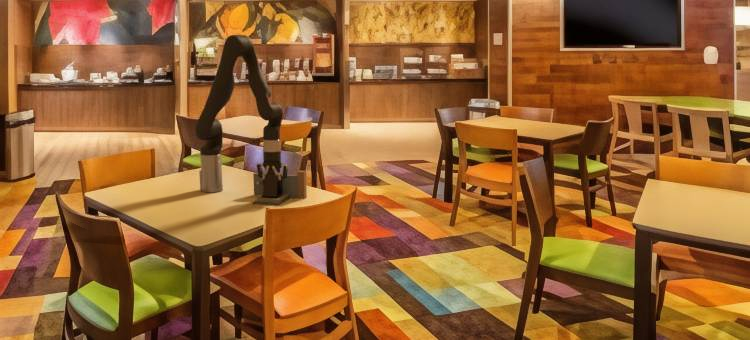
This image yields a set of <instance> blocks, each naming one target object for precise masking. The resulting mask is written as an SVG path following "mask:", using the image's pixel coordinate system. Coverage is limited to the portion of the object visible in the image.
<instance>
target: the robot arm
mask: <svg viewBox="0 0 750 340" xmlns="http://www.w3.org/2000/svg"><path fill="white" fill-rule="evenodd" d="M238 58H242V59H243V61H244V63H245V65H246V67H247V76H248V77H247V80H248V85H249V87H250V89H251V92H252V94H253V96H254V98H255V102H256V103H255V104H256V108H257V113H258V115H259V117H260V118H261V119H263V120H264V121H266V122H267V121H268V122H267V124H266V125H265V126H264V127H263V129H262V131H263V133H262V135H263V137H262V138H263V140H262V141H263V142H262V155H263V156H262V158H263V162H262V163H257V164H256V170H257V173H258V177H259V178H262V179H263V186H264V179H265V175H266V174H267V172H268V170H269V169H273V170H274V172H275V174H276V176H277V175H278V179H279V180H278V189H280V188H281V187H282V186H283V179H285V178H287V174H288V171H289V170H288V169H289V165H288V164H283V163H282V146H281V132H280V131H281V130H280V129H281V127H282V121H283V116H284V110H283V107H282V106H281V105H280V104H279V103H277V102H270V101H269V98H270V97H272V92H271V89H270V88H269V85H268V83H267V82H266V79H265V77H264V75H263V72H262V69H261V66H260V62H259V59H258V57H257V53H256V49H255V46H254V43H253V41H252V39H251V38H250V37H249V36H248V35H245V34H231V35H229V36H228V37H226V39H225V41H224V44H223V48H222V51H221V56H220V61H219V63H218V67H217V70H216V74H215V77H214V80H212V84H211V86H210V91H209V94H208V96H207V97H206V98H207V99H206V102H205V104H204V107H203V109H202V111H201V113H200V115H199V118H198V119H197V121H196V124H195V128H194V132H195V136H196V138H197V139H198V140H200V141H205V144H203V146H201V147H200V149H199V152H200V153H199V154H200V170H199V187H200V188H199V191H200V192H203V193H219V192H221V191H223V187H224V186H223V168H222V149H223V139H224V138H223V126H222V123H221V122H220V120H219V119H218V118H217V116H218V114H219V113H220V112H221V110H223V108H224V107H225V106H226V105H227V103H228V102H229V101H230V100H231V97H232V95H233V93H234V89H235V84H236V83H235V75H234V68H235V65H236V62H237V59H238ZM263 168H264V171H263ZM281 168H282V171H281ZM265 169H266V170H267V171H266V170H265ZM277 169H278V171H280V172H279V173H278V172H277ZM263 173H264V175H263ZM282 174H283V176H282Z"/></svg>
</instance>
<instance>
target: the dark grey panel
mask: <svg viewBox="0 0 750 340" xmlns="http://www.w3.org/2000/svg"><path fill="white" fill-rule="evenodd" d="M281 174H282V176H283V173H281ZM263 175H264V172H263ZM263 188H264V186H263V179H262V178H259V177H258V172H254V173H253V196H257V197H259V196H261V195H263ZM282 189H283V193H282V194H280V195H279V196H282V195H284V194H285V193H289V196H291V198H290V199H292V198H293V199H301V200H302V199H303V200H305V199H306V198H307V196H308V195H307V194H308V193H307V191H308V190H307V170H298V171H297V173H296V174H288V173H287V178H285V179H283V186H282Z"/></svg>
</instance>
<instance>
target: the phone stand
mask: <svg viewBox="0 0 750 340" xmlns="http://www.w3.org/2000/svg"><path fill="white" fill-rule="evenodd" d="M265 170H266V169H265V168H264V171H265ZM266 171H267V170H266ZM280 171H281V170H280ZM280 171H278V169H277V172H278V173H279V172H280ZM278 180H279V179H278V175H277V176H276V174H275V172H274V170H273V169H269V170H268V172H267V174H266V175H265V179H264V188H263V197H277V196H279V195H280V194H282V193H283V189H282V187H281V188H280V189H278Z"/></svg>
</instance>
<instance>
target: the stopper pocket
mask: <svg viewBox="0 0 750 340" xmlns="http://www.w3.org/2000/svg"><path fill="white" fill-rule="evenodd" d="M290 199H292V198H291V196H289V193H285V194H284V195H282V196H277V197H263V195H261V196H257V197H256V200H254V201H253V202H252V205H264V204H265V205H266V206H280V205H282V204H283V203H286V201H288V200H290ZM265 205H264V206H265Z"/></svg>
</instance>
